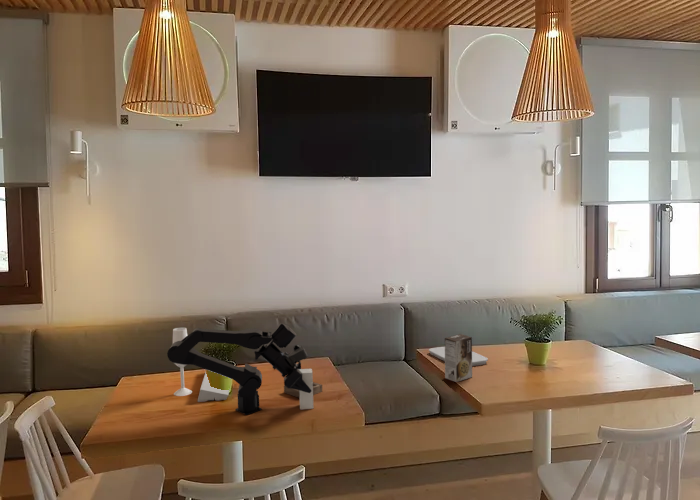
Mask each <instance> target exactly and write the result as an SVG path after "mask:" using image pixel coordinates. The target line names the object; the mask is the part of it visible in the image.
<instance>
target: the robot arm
mask: <svg viewBox="0 0 700 500" xmlns="http://www.w3.org/2000/svg"><path fill="white" fill-rule="evenodd" d="M187 335H188V336H186V337H185V338H184V339H183V340H181V341H177V342H174V343H173V342H172V344H171V346H170V347H169V349H168V350H167V355H166V356H167V359H168V361H169V362H171V363H173V364H174V363H177V364H183V365H186V366H188V365H189V366H190V365H192V366H195V367H198V368H201V369H203V370H209V371H211V372H214V373H217V374H220V375H222V376H225V377H228V378H230V379H231V380H234V381H235V382H236V384H238V389H237V408H235V411H236V412H238V413H240V414H243V415H246V416H247V415H251V414H253V413H256V412H259V411H261V410H262V408H263V407H260V394H259V389H261V386H262V382H263V375H262V372H261V371H260V369H258V366H253V365H251V364H249V363H244V366H237V365H235V364H231V363H228V362H227V361H224V360H221V359H218V358H216V357H213V356H210V355H208V354H204V353H202V352H199V351H198V349H197V350H196V348H194V347H195V346H196V345H198V344H199V343H210V344H211V343H213V344H228V345H229V344H231V345H237V346H240V347H242V348H246V349H250V350H254V352H253V353H254V359H255V361H256V360H258V359H259V358H260V357H262V358H263V359H264V360H265V361H266V362H268V363H269V365H270V366H272V369H273V370H274V371H275V370H277V371H278V372H279V373H280V374H281V377H282V378H283V385H284V386H286V387H287V388H288V389H289V388H290V389H291V388H292V389H296V390H300V391H303V392H307V393H311V391H312V390H311V389H310V388H309V386H308V385H307V384H306V383H305V381H304V380H303V379H302V373H301V372H300V370H299V369H302V362H301V361H303V360H305V359H307V358H308V353H307V351H306V349H305V347H304V346H303V345H301V346H300V345H299V344H295V345H293V350H291V352H289V353H288V352H287V351H282V350H281V349H283V348H284V349H285V348H287V347H288V345H289V344H291V343H292V341H293V340H294V339H296V337H297V336H298V335H297V333H296V332H295V330H293V329H292V328H291V327H290V326H289V325H286V324H285V323H283V322H280V323H279V324H278V326H277V327H276V328H275V329H274V331H262V330H261V329H259V328H255V327H254V328H246V329H241V330H228V329H227V330H226V329H225V330H224V329H223V330H222V329H211V328H210V329H209V328H208V329H207V328H201V327H197V328H194V330H193V331H191V332H190V333H189V334H187Z"/></svg>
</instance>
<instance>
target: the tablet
mask: <svg viewBox="0 0 700 500" xmlns="http://www.w3.org/2000/svg"><path fill="white" fill-rule="evenodd" d="M428 352H429V353H430V355H431V356H433V357H435V358H437V359H439V360H441V361H443V362H445V345H444V346H437V347H432V348H429V349H428ZM488 359H489V358H488V357H487V356H484V355H482V354H480V353H477V352H475V351H473V350H472V367H474V366H482V365H486V364H487V362H488Z"/></svg>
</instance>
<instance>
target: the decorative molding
mask: <svg viewBox="0 0 700 500" xmlns="http://www.w3.org/2000/svg"><path fill="white" fill-rule="evenodd" d="M229 394H230V389H229V390H221V389H217V388H214V387H211V386H210V383H209V380H208V377H207V374H206V372H205V373H204V376H203V379H202V383H201V386H200V389H199V394H198V397H197V402H198V403H200V402H202V403H203V402H207V401H214V400H215V401H222V400H223V401H227V399H228V397H229Z"/></svg>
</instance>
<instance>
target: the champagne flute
mask: <svg viewBox="0 0 700 500" xmlns="http://www.w3.org/2000/svg"><path fill="white" fill-rule="evenodd" d="M187 329H188V328H187V327H175V328H173V329H172V344H173V343H174V342H177V341H181V340H183V339H184V338H185V337H186V336H188V335H189V334H188V330H187ZM173 364H174V365H175V366H177V368H180V369H179V373H180V374H179V375H180V388H178V389H177V390H176V391H175V392H174V393H173V395H174V396H177V397H184V396H188V395H191V394H192V393H193V391H192V390H191V389H189V388H187V387H185V374H184V373H185V372H184V367H186V366H187V365H183V364H177V363H173Z"/></svg>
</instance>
